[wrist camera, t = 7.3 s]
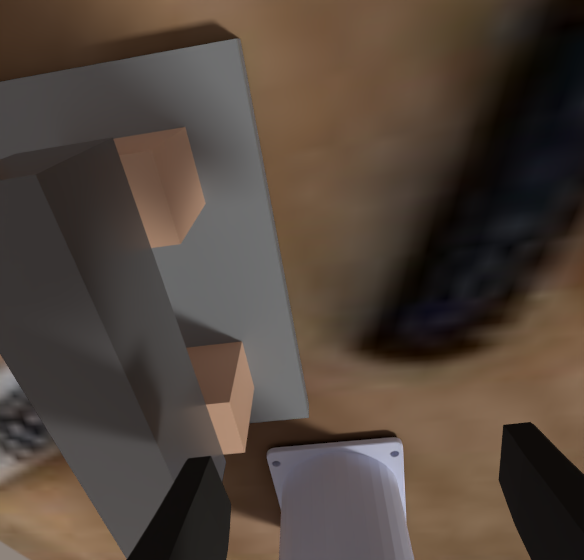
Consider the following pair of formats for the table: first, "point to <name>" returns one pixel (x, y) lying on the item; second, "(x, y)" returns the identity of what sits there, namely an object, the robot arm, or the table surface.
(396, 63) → the table surface
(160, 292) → the dark gray bar
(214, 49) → the display stand
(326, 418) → the table surface
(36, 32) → the table surface
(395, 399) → the table surface
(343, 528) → the robot arm
